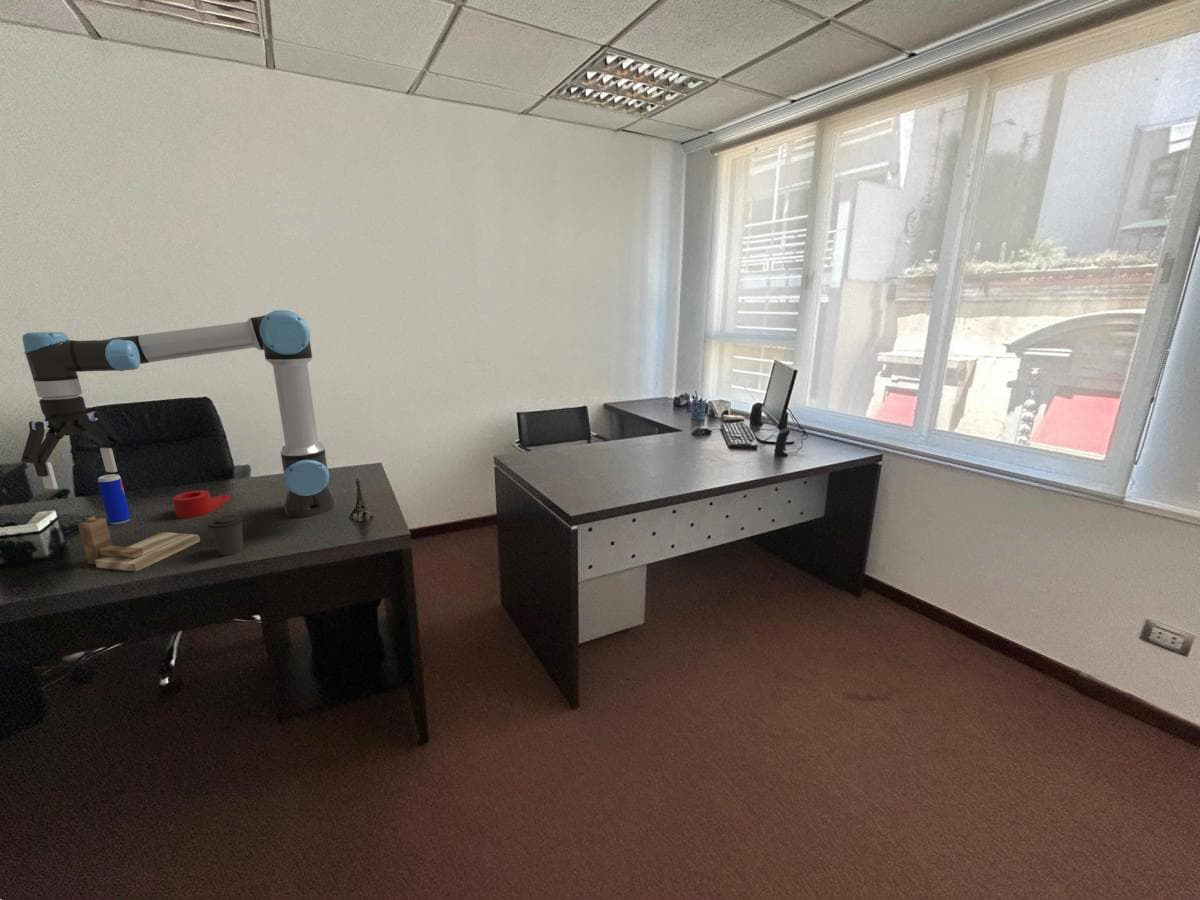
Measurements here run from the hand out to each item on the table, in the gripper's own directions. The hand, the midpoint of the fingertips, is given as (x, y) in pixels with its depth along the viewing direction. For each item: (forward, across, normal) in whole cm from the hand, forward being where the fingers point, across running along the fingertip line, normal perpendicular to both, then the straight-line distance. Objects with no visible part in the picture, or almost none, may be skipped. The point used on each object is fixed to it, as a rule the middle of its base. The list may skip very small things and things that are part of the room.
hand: (83, 479), depth 128 cm
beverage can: (+23, -22, -23) cm, 39 cm away
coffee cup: (+23, -10, +28) cm, 38 cm away
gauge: (+23, +1, +8) cm, 24 cm away
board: (+23, -5, +8) cm, 25 cm away
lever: (+23, -36, -6) cm, 43 cm away
